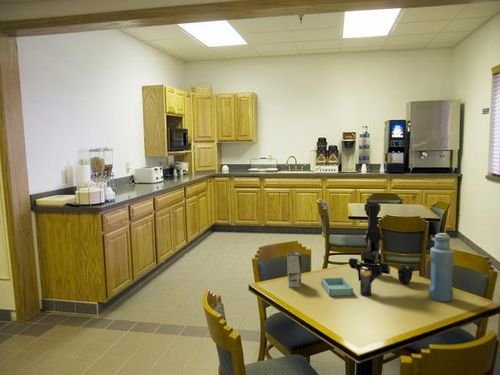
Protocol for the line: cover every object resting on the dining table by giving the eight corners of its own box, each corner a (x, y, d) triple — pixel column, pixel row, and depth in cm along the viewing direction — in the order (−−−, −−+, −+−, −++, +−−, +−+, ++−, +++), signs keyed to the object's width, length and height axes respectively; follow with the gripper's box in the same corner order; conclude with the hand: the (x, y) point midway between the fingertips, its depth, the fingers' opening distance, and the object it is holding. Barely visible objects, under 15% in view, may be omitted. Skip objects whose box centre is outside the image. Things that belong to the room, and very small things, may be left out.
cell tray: (321, 284, 201) (321, 278, 201) (342, 284, 202) (342, 277, 201) (329, 296, 185) (329, 289, 185) (352, 295, 186) (352, 288, 185)
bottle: (455, 303, 176) (458, 236, 173) (431, 301, 178) (433, 235, 175) (449, 295, 185) (451, 231, 182) (426, 293, 187) (428, 231, 184)
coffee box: (301, 287, 198) (301, 255, 196) (288, 287, 198) (288, 255, 196) (299, 281, 207) (299, 251, 205) (287, 281, 207) (287, 251, 205)
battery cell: (358, 292, 190) (358, 266, 188) (369, 292, 190) (369, 265, 189) (362, 296, 184) (362, 269, 183) (373, 296, 185) (373, 268, 184)
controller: (395, 284, 200) (396, 265, 199) (407, 278, 208) (408, 260, 207) (404, 286, 197) (404, 266, 196) (415, 280, 205) (416, 262, 204)
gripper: (349, 241, 193) (341, 269, 185) (389, 246, 183) (382, 276, 175) (355, 253, 201) (347, 281, 193) (393, 259, 190) (386, 288, 182)
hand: (364, 281), depth 185 cm, fingers closed on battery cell, 5 cm apart
